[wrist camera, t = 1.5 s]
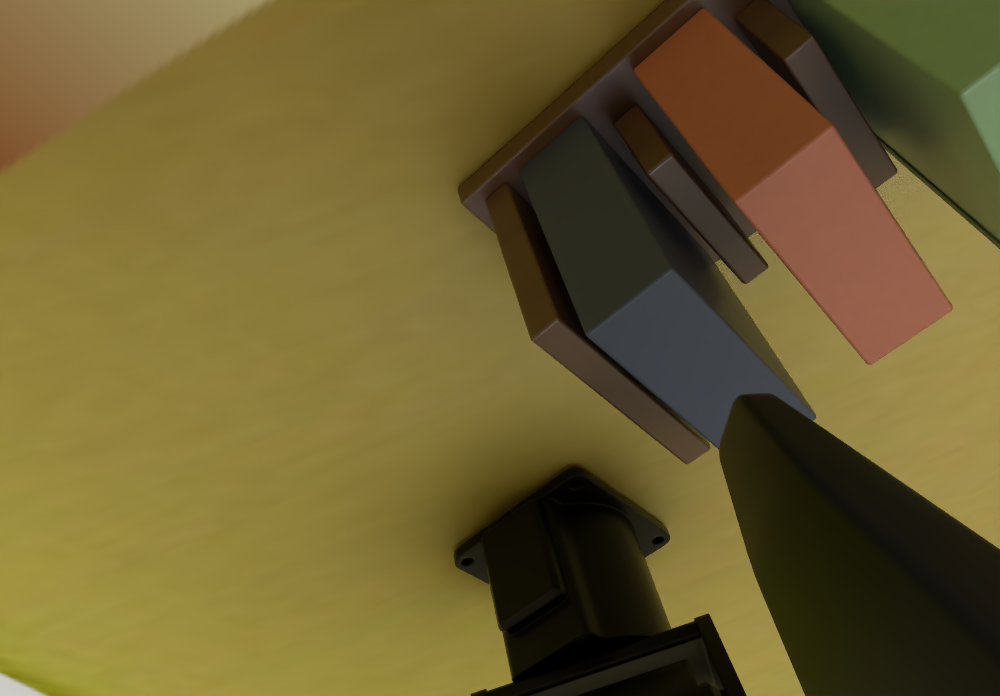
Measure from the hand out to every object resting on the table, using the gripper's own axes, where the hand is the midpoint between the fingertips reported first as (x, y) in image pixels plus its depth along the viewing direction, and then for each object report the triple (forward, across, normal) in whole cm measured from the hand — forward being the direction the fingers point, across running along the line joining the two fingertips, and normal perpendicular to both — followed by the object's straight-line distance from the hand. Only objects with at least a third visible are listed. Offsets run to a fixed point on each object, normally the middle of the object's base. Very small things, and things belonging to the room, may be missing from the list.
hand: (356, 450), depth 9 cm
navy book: (+13, -8, +5) cm, 16 cm away
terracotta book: (+13, -10, +2) cm, 17 cm away
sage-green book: (+13, -13, 0) cm, 18 cm away
